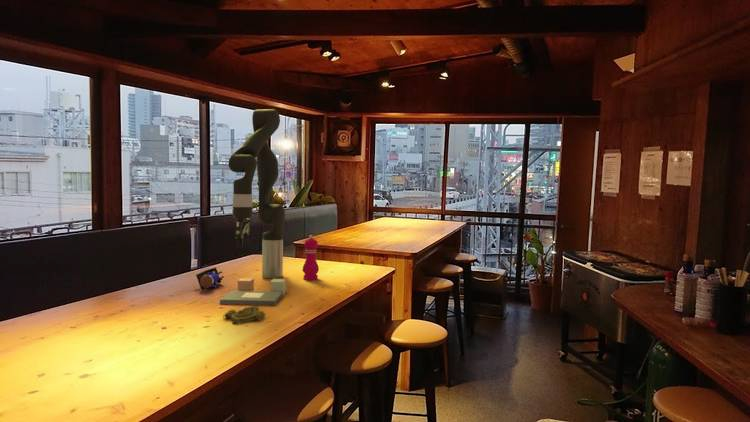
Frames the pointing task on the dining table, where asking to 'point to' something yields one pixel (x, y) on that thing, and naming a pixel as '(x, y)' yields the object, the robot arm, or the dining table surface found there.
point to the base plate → (251, 297)
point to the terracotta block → (246, 284)
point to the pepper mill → (310, 260)
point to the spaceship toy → (244, 315)
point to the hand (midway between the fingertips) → (242, 246)
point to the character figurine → (209, 278)
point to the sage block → (278, 285)
